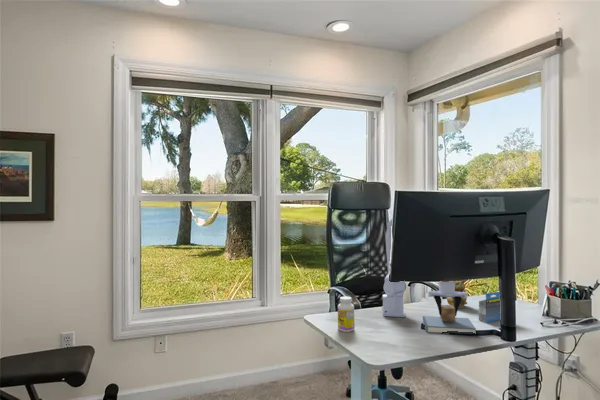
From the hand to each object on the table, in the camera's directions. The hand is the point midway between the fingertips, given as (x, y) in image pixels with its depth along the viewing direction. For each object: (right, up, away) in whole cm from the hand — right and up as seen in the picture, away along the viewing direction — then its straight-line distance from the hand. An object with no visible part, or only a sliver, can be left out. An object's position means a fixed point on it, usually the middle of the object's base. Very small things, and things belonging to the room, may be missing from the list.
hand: (447, 314), depth 148 cm
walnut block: (0, -2, 0) cm, 2 cm away
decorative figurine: (+16, -6, +30) cm, 35 cm away
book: (0, -6, 0) cm, 6 cm away
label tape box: (+21, -5, +8) cm, 24 cm away
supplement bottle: (-41, -6, 0) cm, 41 cm away
